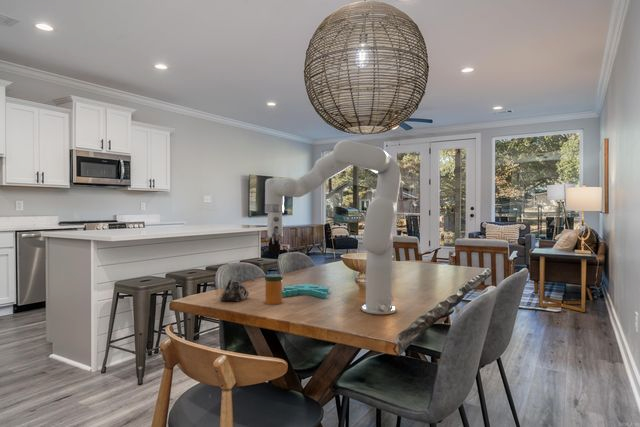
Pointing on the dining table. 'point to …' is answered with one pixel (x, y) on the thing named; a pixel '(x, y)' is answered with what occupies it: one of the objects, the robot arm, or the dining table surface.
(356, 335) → the dining table surface
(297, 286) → the alien figure
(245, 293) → the rock
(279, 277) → the lid
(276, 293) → the jar
